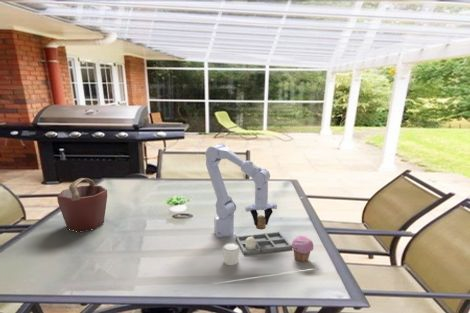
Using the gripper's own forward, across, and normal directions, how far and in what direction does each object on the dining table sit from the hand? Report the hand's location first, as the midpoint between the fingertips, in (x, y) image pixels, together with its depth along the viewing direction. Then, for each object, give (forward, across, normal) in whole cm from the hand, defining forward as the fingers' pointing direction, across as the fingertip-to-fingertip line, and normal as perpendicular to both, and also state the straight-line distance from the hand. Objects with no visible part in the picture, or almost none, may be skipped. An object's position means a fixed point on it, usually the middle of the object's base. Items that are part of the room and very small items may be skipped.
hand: (260, 224), depth 143 cm
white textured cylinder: (+9, -18, -14) cm, 24 cm away
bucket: (+9, -83, +40) cm, 93 cm away
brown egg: (+1, 0, 0) cm, 1 cm away
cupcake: (+9, +11, -20) cm, 24 cm away
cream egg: (+8, -7, -7) cm, 13 cm away
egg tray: (+8, 0, -4) cm, 9 cm away
